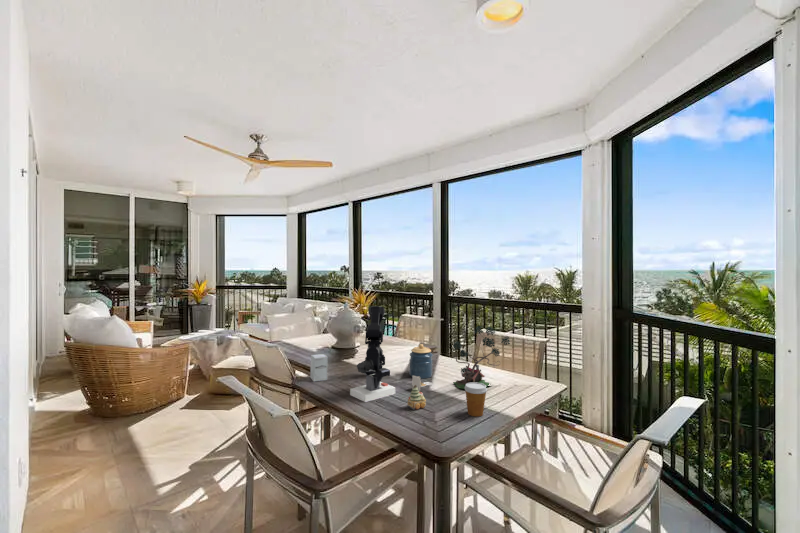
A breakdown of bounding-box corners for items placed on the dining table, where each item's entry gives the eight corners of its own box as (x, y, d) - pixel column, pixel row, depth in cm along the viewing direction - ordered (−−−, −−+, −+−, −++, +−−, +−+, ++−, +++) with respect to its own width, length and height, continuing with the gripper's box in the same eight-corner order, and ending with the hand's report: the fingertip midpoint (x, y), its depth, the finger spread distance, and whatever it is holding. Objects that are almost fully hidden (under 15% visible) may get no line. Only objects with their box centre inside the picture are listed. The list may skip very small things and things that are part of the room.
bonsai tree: (479, 400, 181) (481, 332, 180) (441, 387, 199) (442, 325, 199) (522, 386, 203) (523, 325, 203) (484, 375, 222) (485, 319, 221)
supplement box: (313, 382, 204) (314, 358, 204) (310, 378, 211) (310, 354, 211) (327, 380, 208) (327, 356, 207) (323, 376, 214) (323, 353, 214)
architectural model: (416, 388, 198) (417, 374, 198) (426, 392, 193) (426, 377, 193) (411, 390, 196) (412, 375, 196) (421, 393, 190) (421, 378, 190)
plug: (374, 388, 190) (374, 373, 190) (379, 390, 187) (379, 375, 187) (366, 390, 187) (366, 375, 187) (371, 392, 184) (371, 377, 184)
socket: (379, 387, 197) (379, 379, 197) (395, 393, 188) (395, 385, 188) (350, 395, 185) (350, 387, 185) (365, 402, 176) (365, 393, 176)
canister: (405, 377, 216) (406, 345, 216) (413, 371, 228) (414, 340, 228) (428, 380, 211) (428, 347, 211) (435, 373, 223) (435, 343, 223)
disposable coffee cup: (461, 409, 169) (462, 382, 169) (483, 409, 170) (483, 381, 170) (467, 418, 160) (467, 389, 160) (489, 418, 161) (490, 389, 161)
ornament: (419, 403, 176) (419, 381, 176) (428, 407, 172) (428, 384, 171) (405, 407, 171) (405, 384, 171) (414, 411, 167) (414, 388, 166)
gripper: (348, 353, 188) (347, 385, 188) (372, 361, 174) (371, 396, 175) (367, 350, 196) (366, 381, 196) (391, 357, 182) (390, 390, 182)
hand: (373, 387), depth 187 cm, fingers closed on plug, 4 cm apart
